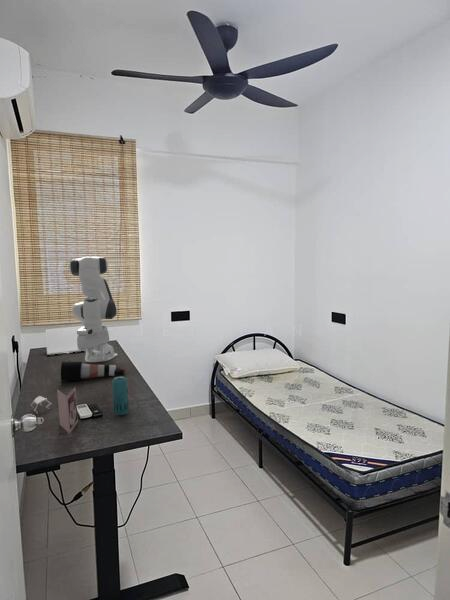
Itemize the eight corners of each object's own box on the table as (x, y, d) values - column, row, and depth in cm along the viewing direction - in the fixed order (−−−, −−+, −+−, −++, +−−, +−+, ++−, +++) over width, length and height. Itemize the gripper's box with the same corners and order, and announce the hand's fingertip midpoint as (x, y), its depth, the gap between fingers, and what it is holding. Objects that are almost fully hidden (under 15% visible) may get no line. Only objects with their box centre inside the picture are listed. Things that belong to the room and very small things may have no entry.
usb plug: (86, 358, 211) (85, 351, 211) (91, 356, 214) (90, 349, 214) (101, 359, 207) (100, 352, 207) (105, 358, 210) (105, 351, 210)
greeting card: (71, 433, 155) (69, 396, 153) (52, 434, 155) (49, 397, 153) (80, 421, 166) (77, 386, 165) (61, 422, 166) (58, 387, 164)
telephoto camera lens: (124, 383, 229) (126, 369, 224) (60, 384, 219) (60, 370, 214) (124, 370, 238) (125, 357, 232) (62, 371, 228) (62, 357, 222)
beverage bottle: (115, 419, 167) (112, 373, 165) (112, 414, 173) (109, 368, 171) (130, 416, 170) (128, 370, 167) (128, 411, 176) (125, 366, 174)
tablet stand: (47, 351, 294) (45, 328, 293) (83, 347, 304) (81, 325, 302) (47, 357, 278) (45, 332, 276) (85, 352, 288) (83, 329, 286)
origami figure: (53, 410, 179) (53, 400, 179) (33, 415, 175) (32, 404, 174) (48, 403, 189) (47, 392, 189) (28, 407, 184) (27, 396, 184)
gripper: (102, 324, 220) (103, 349, 221) (74, 331, 201) (76, 358, 203) (111, 325, 217) (112, 350, 219) (83, 332, 199) (85, 359, 200)
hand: (95, 354), depth 211 cm, fingers closed on usb plug, 4 cm apart
